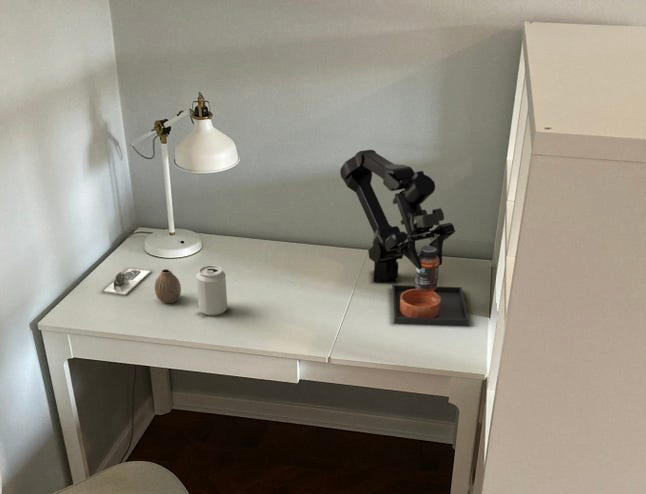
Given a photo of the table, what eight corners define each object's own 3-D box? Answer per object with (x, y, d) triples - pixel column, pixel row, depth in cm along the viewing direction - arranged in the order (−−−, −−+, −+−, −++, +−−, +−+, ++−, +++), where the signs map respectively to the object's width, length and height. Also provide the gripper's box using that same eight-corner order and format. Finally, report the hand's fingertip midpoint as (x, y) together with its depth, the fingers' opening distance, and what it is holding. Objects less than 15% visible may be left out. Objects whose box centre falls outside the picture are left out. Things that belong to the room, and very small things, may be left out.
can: (232, 306, 213) (230, 266, 207) (219, 319, 207) (217, 277, 201) (207, 301, 215) (204, 261, 209) (194, 314, 209) (190, 273, 203)
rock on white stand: (125, 295, 218) (123, 280, 215) (103, 292, 219) (101, 277, 217) (150, 272, 230) (148, 258, 228) (129, 269, 231) (127, 255, 229)
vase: (186, 297, 217) (184, 268, 213) (172, 308, 212) (169, 278, 207) (165, 292, 220) (162, 263, 215) (151, 302, 214) (147, 273, 210)
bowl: (400, 320, 209) (401, 306, 207) (398, 301, 218) (399, 288, 216) (440, 321, 208) (442, 307, 206) (437, 302, 217) (439, 289, 215)
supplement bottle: (436, 283, 213) (440, 244, 207) (437, 293, 208) (441, 254, 202) (413, 282, 213) (417, 243, 207) (414, 292, 208) (418, 253, 202)
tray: (393, 323, 207) (394, 317, 206) (392, 290, 223) (392, 284, 222) (468, 325, 207) (468, 320, 206) (460, 292, 223) (461, 287, 222)
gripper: (393, 204, 197) (413, 262, 195) (455, 193, 204) (475, 249, 202) (376, 222, 207) (394, 277, 205) (436, 211, 214) (454, 264, 212)
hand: (430, 266), depth 206 cm, fingers closed on supplement bottle, 6 cm apart
